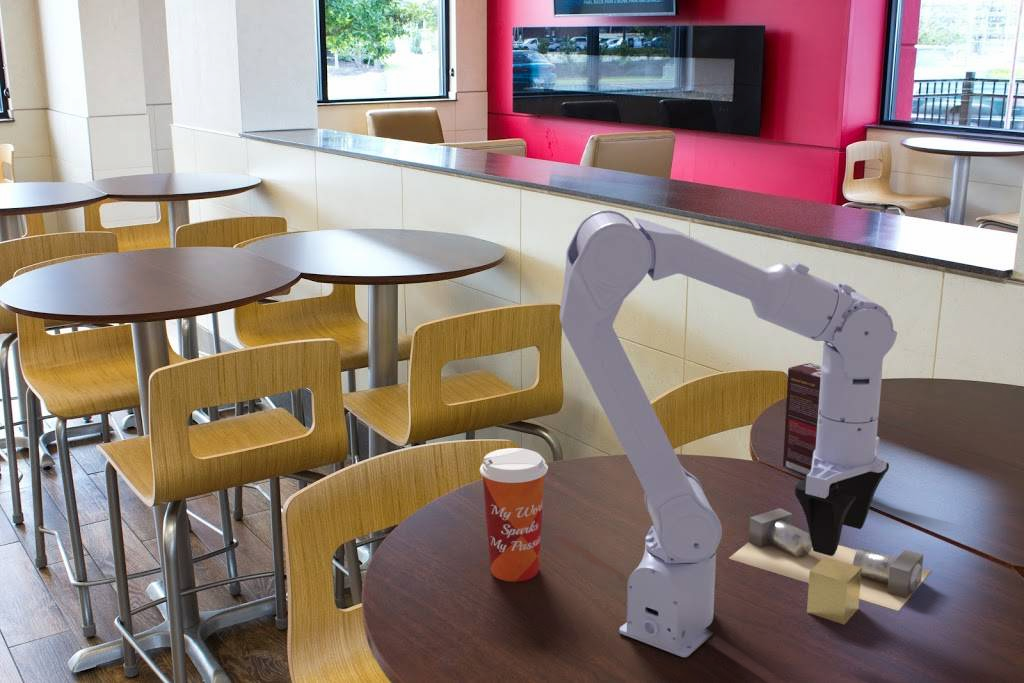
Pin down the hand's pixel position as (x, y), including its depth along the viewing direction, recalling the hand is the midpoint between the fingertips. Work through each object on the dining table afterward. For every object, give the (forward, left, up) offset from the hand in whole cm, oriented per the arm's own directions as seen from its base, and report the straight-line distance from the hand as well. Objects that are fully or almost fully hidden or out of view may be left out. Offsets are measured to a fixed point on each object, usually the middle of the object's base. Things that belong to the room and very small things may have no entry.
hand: (838, 538), depth 105 cm
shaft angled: (+11, +10, -8) cm, 17 cm away
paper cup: (-11, +33, -10) cm, 37 cm away
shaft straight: (+10, -2, -8) cm, 13 cm away
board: (+10, +4, -9) cm, 14 cm away
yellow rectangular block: (0, 0, -10) cm, 10 cm away
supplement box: (+36, +16, -10) cm, 40 cm away
